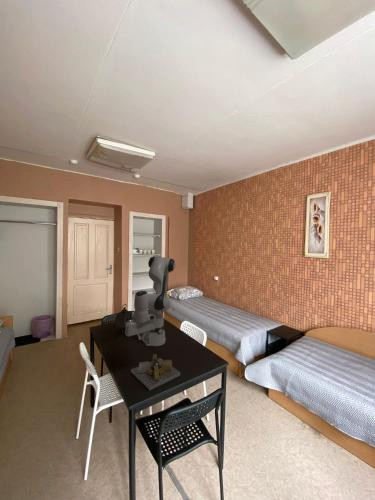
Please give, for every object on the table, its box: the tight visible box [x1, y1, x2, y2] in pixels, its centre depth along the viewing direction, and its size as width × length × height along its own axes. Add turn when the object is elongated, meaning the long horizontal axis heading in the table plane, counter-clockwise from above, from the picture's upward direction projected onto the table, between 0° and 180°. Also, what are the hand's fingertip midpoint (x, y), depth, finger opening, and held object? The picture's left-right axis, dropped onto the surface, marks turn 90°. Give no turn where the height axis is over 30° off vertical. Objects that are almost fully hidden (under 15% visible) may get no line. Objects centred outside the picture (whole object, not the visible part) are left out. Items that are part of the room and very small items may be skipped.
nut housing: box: [130, 357, 181, 391], centre depth 133 cm, size 22×22×7 cm
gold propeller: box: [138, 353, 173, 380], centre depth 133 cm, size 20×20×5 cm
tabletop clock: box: [115, 303, 133, 334], centre depth 202 cm, size 14×9×25 cm, turn 162°
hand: (141, 339), depth 134 cm, fingers closed
